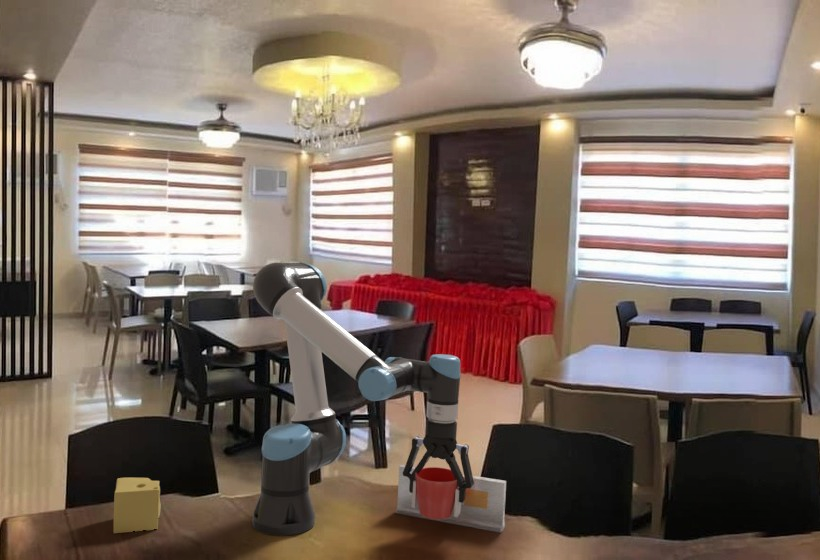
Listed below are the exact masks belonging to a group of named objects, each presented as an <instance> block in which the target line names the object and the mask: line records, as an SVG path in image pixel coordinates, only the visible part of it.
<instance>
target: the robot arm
mask: <svg viewBox="0 0 820 560" xmlns="http://www.w3.org/2000/svg"><path fill="white" fill-rule="evenodd" d="M252 291H253V294H254V295H253V296H254V297H255V298H254V299H255V300H256V301H257V303H258V304H259V305H260V306H261V308H262V309H263V310H264V311H265V312H267V313H268V314H269V315H271V316H272V317H273V318H274V319H275V320H278V321H281V320H282V321H283V322H284V328H285V335H286V342H287V344H286V345H287V350H288V351H287V352H288V359H289V360H288V361H289V365H290V366H289V367H290V374H291V375H290V376H291V381H292V382H291V383H292V389H293V390H292V391H293V399H294V407H295V413H294V414H293V416H292V417H291V418H290V421H291V423H285V424H279V425H276V426H274V427H271V428H269V429H268V430H267V431H266V432H265V433H264V434H263V437H262V445H261V448H260V449H261V450H260V451H261V472H260V473H261V477H260V480H261V481H260V493H259V497H258V499H257V502H256V505H255V507H254V508H255V509H254V510H253V513H252V528H253V529H254V530H255V531H257V532H259V533H262V534H265V535H271V536H279V537H280V536H292V535H298V534H302V533H304V532H307V531H309V530H311V529H312V528H313V527H315V525H316V512H315V509H314V505H313V502H312V499H311V498H312V497H311V494H310V473H312V472H314V471H317V470H318V469H320V468H323V467H326V466H328V465H330V464H332V463H333V462H335V461H336V460H337V459H339V458H340V456H341V455H342V453H343V452H344V450H345V448H346V444H347V434H346V430H345V427H344V426H343V424H341V423H340V421H339V420H338V419H336V412H335V411H334V410H333V409H332V408H330V407H329V399H328V393H327V386H326V378H325V371H324V362H323V355H322V354H324V355H325V356H326V357H327V358H329V359H330V360H331V361H332V362H333V363H334V364H335V365H337V366H338V367H339V368H341V370H343V371H344V372H346V373H347V375H349V376H350V377H351V378H353V379H354V380H355V381H356V382H358V389H359V391H360V393H361V395H362V397H363V398H365V399H367V400H368V401H371V402H378V401H384V400H385V401H386V400H388V399H390V398H391V397H393V396H395V395H399V394H401V393H404V392H406V391H413V392H419V393H427V399H426V418H427V419H426V420H425V431H424V433H425V435H424V438H423V437H422V438H421V437H420V436H414V438H412V440H411V449H410V451H409V455H408V458H407V460H406V462H405V464H404V465H405V468H404V471H403V476H406V477H408V478H409V479H410V486H409V491H410V492H411V493H413V495H412V508H415V507H416V506H417V505H418V497H417V488H416V478H415V473H416V472H417V473H419V472H420V471H421V470H422V469H423V468H425V465H427V463H428V461H429V460H430V458H431V459H439V460H445V462H446V464H447V465H448V467H449V469H450V470H451V471H452V473H453V476H454V478H455V480H457V484H458V488H457V489H456V493H455V509H454V516H455V517H457V516H458V515H459V514H460V510H461V502H462V503H463V502H464V500H465V495H466V488H471V487H472V486H473V485H474V480H473V476H474V475H473V472H472V467H471V463H470V457H469V448H470V447H469V446H470V445H468V444H459V443H458V441H457V429H458V428H457V427H458V422H457V419H458V415H459V398H460V397H459V395H460V385H461V384H460V383H461V378H462V377H461V375H462V374H461V359H460V358H459V357H458V356H455V355H453V354H442V353H440V354H432V355H430V357H429V360H428V361H424V360H423V361H422V360H417V359H410V358H404V357H402V356H399V357H396V356H395V357H394V356H390V357H387V358H386V359H385V361H384V360H383V359H381V358H380V357H379V356H378V355H377V354H375V353H374V352H373V351H372V350H371V349H369V348H368V347H367V346H366V345H364V344H363V343H362V342H361V341H360V340H359V339H357V338H356V337H355V336H353V335H352V334H351V333H349V332H348V331H347V330H346V329H345V328H343V327H342V326H341V325H339V323H337V322H336V321H334V320H333V319H332V318H331V317H330V316H329V315H327V314H326V313H325V312H324V311H323V308H322V302H323V299H324V297H325V296H326V294H327V280H326V277H325V276H324V274H323V272H321V270H320V269H318V267H316V266H315V265H312V264H310V263H305V262H300V261H299V262H271V263H268V264H266V265H264V266H262V267H261V268H260V269H259V270H258V272H257V273H256V274H255V277H254V279H253V282H252ZM421 446H424V447H425V450H426V452H425V453H424V455H423V456H422V458H421V459H420V460H419V462H418V463H417V465H415V462H416V458H417V456H418V453H419V451H420V447H421ZM456 450H457V453H458V454H459V455H460V456H459V457H460V462H461V467H462V470H461V469H460V466H459V464H458V462H457V460H456V455H455V454H454V452H455V451H456ZM414 465H415V467H416V468H415V469H414V471H413V472H412V471H411V470H412V467H413V466H414ZM462 471H463V472H462ZM462 474H464V477H465V479H464V477H463V475H462Z"/></svg>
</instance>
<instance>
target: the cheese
mask: <svg viewBox="0 0 820 560" xmlns="http://www.w3.org/2000/svg"><path fill="white" fill-rule="evenodd" d="M160 482H161V481H160V480H152V479H150V478H149V477H120V478H119V477H118V478H117V479H116V483H115V490H114V498H113V500H114V501H113V534H123V533H134V532H133V531H135V532H143V530H146V531H155V530H154V529H157V530H158V529H159V528H158V527H159V519H158V518H160V514H161V510H162V509H161V508H162V505H161V500H160V497H161V496H160V495H161V486H160Z"/></svg>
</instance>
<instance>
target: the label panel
mask: <svg viewBox="0 0 820 560" xmlns="http://www.w3.org/2000/svg"><path fill="white" fill-rule="evenodd" d="M405 465H406V464H400V465H399V466H398V487H397V488H398V489H397V508H395V513H396V514H398V515H404V516H409V517H415V518H421V519H426V520H429V521H430V520H431V521H436V522H442V523H447V524H451V525H452V524H453V525H458V526H463V527H469V528H474V529H479V530H483V531H488V532H489V531H490V532H495V533H503V531H504V529H505V528H506V522H505V517H506V516H505V515H506V513H505V510H506V496H507V495H506V494H507V493H506V492H507V480H502V479H498V478H497V479H496V478H489V477H483V476H477V475H472V476H473V480H474V485H473V486H472V487H471V488H466V495H465V500H464V502H463V503H462V502H461V510H460V514H459V515H458V516H457V517H455V516H454V509H455V503H454V507H453V510H452V514H451V516H450V517H448V518H446V519H444V518H443V519H430V518H426V517H424V516H422V515H421V514H420V511H419V504H418V505H417V506H416V507H415V508H412V495H413V493H411V492H410V491H409V486H410V479H409V478H408V477H406V476H403V471H404V468H405ZM415 468H416V465H413V467H412V470H411V471H412V472H413V471H414V469H415ZM462 475H463V477H464V473H462ZM464 479H465V477H464Z"/></svg>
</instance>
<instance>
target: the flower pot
mask: <svg viewBox="0 0 820 560" xmlns="http://www.w3.org/2000/svg"><path fill="white" fill-rule="evenodd" d="M415 478H416V488H417V497H418V504H419V511H420V514H421V515H422V516H424V517H426V518H430V519H443V518H444V519H446V518H448V517H450V516H451V514H452V510H453V507H454V503H455V493H456V489H457V488H458V484H457V480H455V478H454V476H453V473H452V471H451V469H450V468H444V467H438V466H437V467H435V466H428V467H423V469H422V470H421V471H420V472H419V473H417V472H416V473H415ZM430 519H429V520H430Z"/></svg>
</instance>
